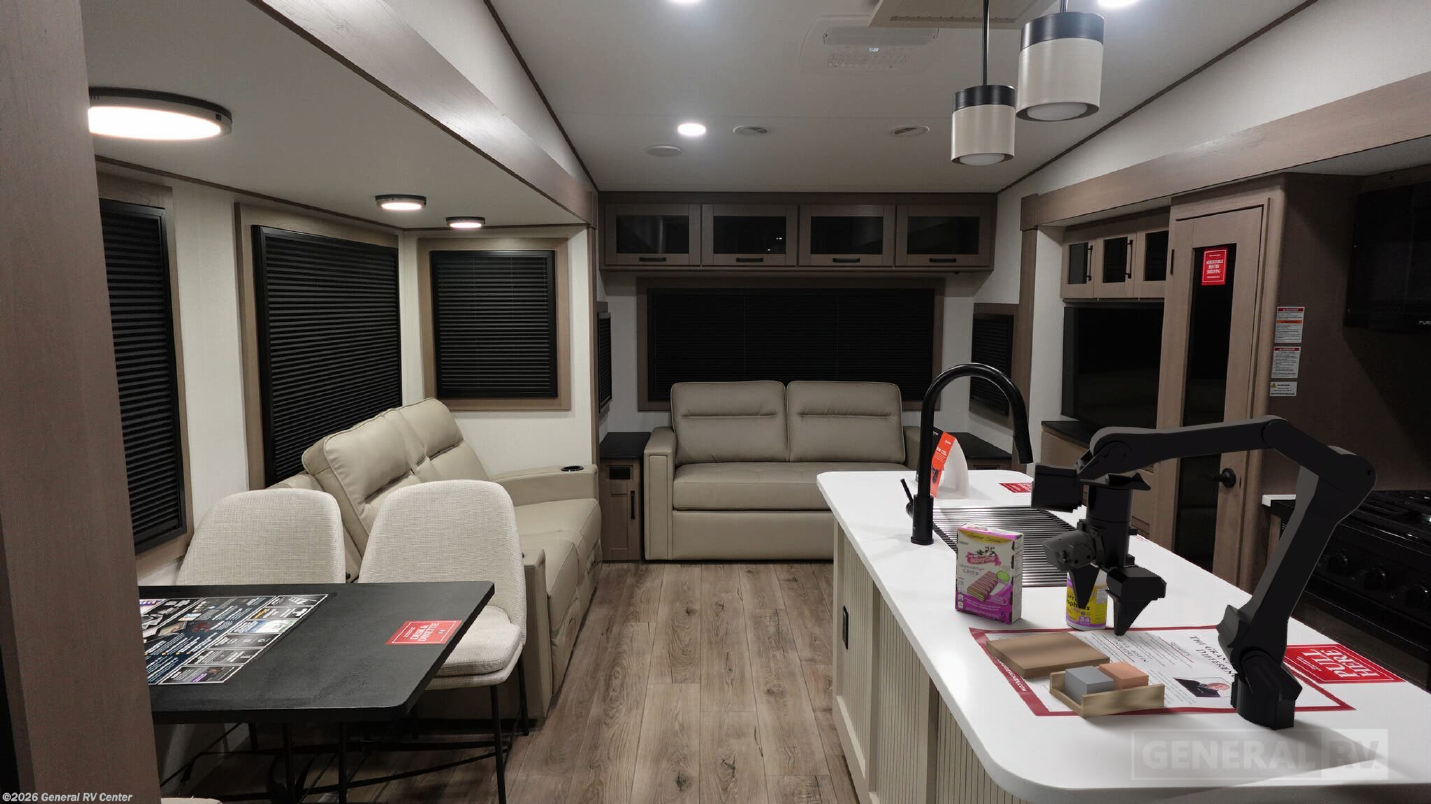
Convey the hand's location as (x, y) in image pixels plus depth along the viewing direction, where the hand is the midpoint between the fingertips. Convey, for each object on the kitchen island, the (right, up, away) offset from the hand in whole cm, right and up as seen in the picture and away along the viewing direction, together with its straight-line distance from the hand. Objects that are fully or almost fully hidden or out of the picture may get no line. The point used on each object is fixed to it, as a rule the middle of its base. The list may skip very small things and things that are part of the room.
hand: (1099, 621), depth 106 cm
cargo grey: (-2, -11, -2) cm, 11 cm away
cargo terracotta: (+3, -11, -1) cm, 11 cm away
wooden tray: (0, -12, -1) cm, 12 cm away
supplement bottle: (+12, -9, +27) cm, 31 cm away
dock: (-2, -11, +12) cm, 16 cm away
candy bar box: (-4, -9, +33) cm, 34 cm away
